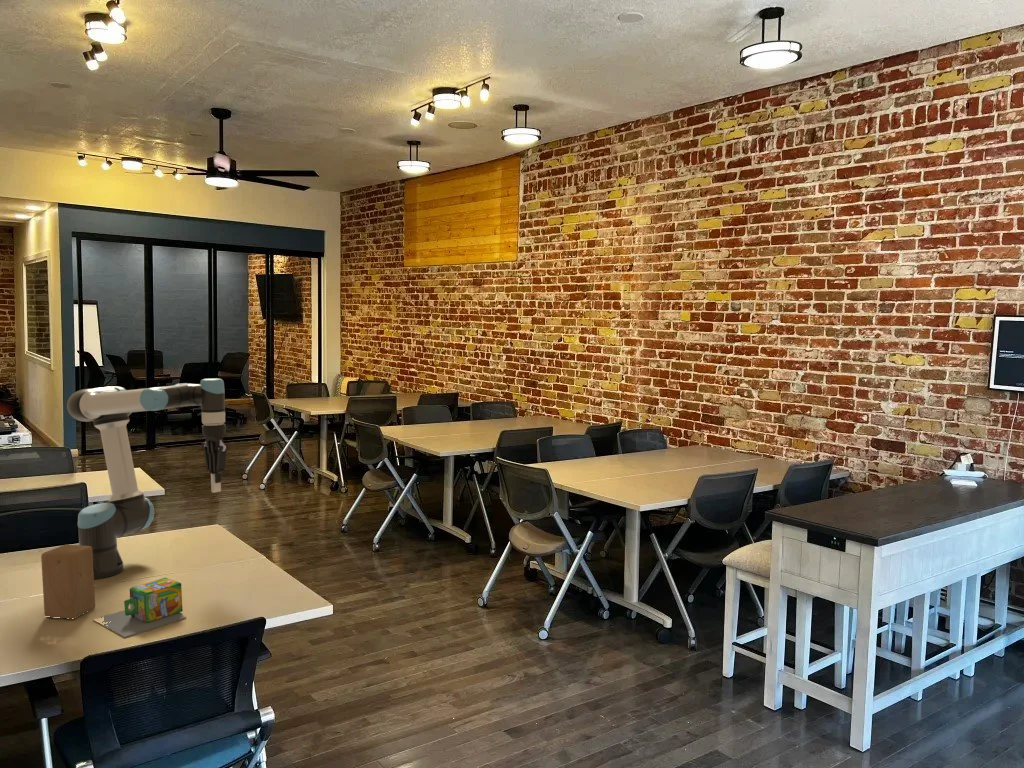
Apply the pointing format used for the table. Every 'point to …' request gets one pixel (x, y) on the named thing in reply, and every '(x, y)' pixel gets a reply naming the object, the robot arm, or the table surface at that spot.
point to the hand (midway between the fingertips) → (216, 491)
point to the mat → (136, 623)
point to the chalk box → (154, 600)
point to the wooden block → (68, 581)
